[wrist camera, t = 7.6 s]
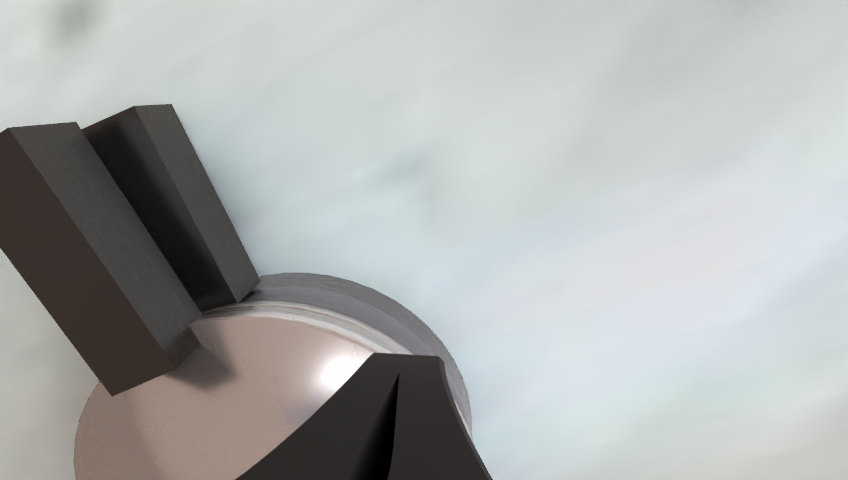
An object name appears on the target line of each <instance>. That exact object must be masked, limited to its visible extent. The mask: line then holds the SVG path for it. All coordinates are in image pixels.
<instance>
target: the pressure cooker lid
mask: <svg viewBox="0 0 848 480" xmlns="http://www.w3.org/2000/svg"><path fill="white" fill-rule="evenodd" d="M0 248H1V249H2V251H3V252H4V253H5V255H6V256H7V257H8V259H9V260H10V261H11V263H12V264H13V265H14V267H15V268H16V269H17V271H18V272H19V273H20V275H21V276H22V277H23V279H24V280H25V281H26V283H27V284H28V285H29V287H30V288H31V289H32V291H33V292H34V293H35V295H36V296H37V297H38V299H39V300H40V301H41V303H42V304H43V305H44V307H45V308H46V309H47V311H48V312H49V313H50V315H51V316H52V317H53V319H54V320H55V321H56V323H57V324H58V325H59V327H60V328H61V329H62V331H63V332H64V333H65V335H66V336H67V337H68V339H69V340H70V341H71V343H72V344H73V345H74V347H75V348H76V349H77V351H78V352H79V353H80V355H81V356H82V357H83V359H84V360H85V362H86V363H87V364H88V366H89V367H90V368H91V370H92V371H93V372H94V374H95V375H96V376H97V378H98V379H99V380H100V381H99V383H98V385H97V386H96V388H95V389H94V391H93V392H92V394H91V395H90V397H89V399H88V400H87V403H86V405H85V408H84V410H83V412H82V415H81V417H80V420H79V424H78V429H77V433H76V438H75V448H74V467H75V477H76V480H235V479H236V478H238V477H239V476H240V475H242V474H243V473H245V472H246V471H247V470H248V469H250V468H251V467H252V466H254V465H255V464H256V463H257V462H259V461H260V460H261V459H262V458H264V457H265V456H266V455H267V454H269V453H270V452H271V451H272V450H273V449H274V448H276V447H277V446H278V445H279V444H280V443H281V442H282V441H284V440H285V439H286V438H287V437H288V436H289V435H290V434H292V433H293V432H294V431H295V430H296V429H297V428H299V427H300V426H301V425H302V424H303V423H304V422H305V421H306V420H307V419H309V418H310V417H311V416H312V415H313V414H314V413H315V412H316V411H317V410H318V409H319V408H320V407H321V406H322V405H323V404H324V403H325V402H326V401H327V400H328V399H329V398H330V397H331V396H332V395H333V394H334V393H335V392H336V391H337V390H338V389H339V388H340V387H341V386H342V385H343V384H344V383H345V382H346V381H347V380H348V379H349V378H350V377H351V376H352V375H353V373H354V372H355V371H356V370H357V369H358V368H359V367H360V366H361V365H362V364H363V363H364V362H365V360H366V359H367V358H368V357H369V356H371V355H372V354H373V353H374V352H375V353H392V354H402V353H401V352H400V351H398V350H397V349H396V348H394V347H393V346H391V345H390V344H388V343H386V342H385V341H383V340H381V339H379V338H377V337H376V336H374V335H372V334H370V333H368V332H367V331H365V330H362V329H360V328H357V327H355V326H353V325H350V324H348V323H345V322H343V321H341V320H338V319H335V318H331V317H328V316H324V315H321V314H317V313H314V312H310V311H304V310H298V309H292V308H286V307H275V306H242V307H230V308H222V309H218V310H213V311H209V312H204V313H201V312H200V310H199V309H198V307H197V306H196V304H195V303H194V301H193V300H192V298H191V296H190V295H189V293H188V292H187V290H186V289H185V287H184V286H183V284H182V283H181V281H180V280H179V278H178V277H177V275H176V274H175V272H174V271H173V269H172V268H171V266H170V264H169V263H168V261H167V260H166V258H165V257H164V255H163V254H162V252H161V251H160V249H159V248H158V246H157V245H156V243H155V242H154V240H153V239H152V237H151V236H150V234H149V232H148V231H147V229H146V228H145V226H144V225H143V223H142V222H141V220H140V219H139V217H138V216H137V214H136V213H135V211H134V210H133V208H132V207H131V205H130V204H129V202H128V200H127V199H126V197H125V196H124V194H123V193H122V191H121V190H120V188H119V187H118V185H117V184H116V182H115V181H114V179H113V178H112V176H111V175H110V173H109V172H108V170H107V168H106V167H105V165H104V164H103V162H102V161H101V159H100V158H99V156H98V155H97V153H96V152H95V150H94V149H93V147H92V146H91V144H90V143H89V141H88V140H87V138H86V137H85V135H84V133H83V132H82V130H81V129H80V127H79V126H78V124H77V123H76V122H70V123H58V124H47V125H35V126H23V127H12V128H7V129H6V130H4V131H2V132H1V133H0ZM462 421H463V420H462ZM463 423H464V421H463ZM464 425H465V423H464ZM465 427H466V425H465ZM466 430H467V428H466ZM467 432H468V430H467ZM468 434H469V432H468ZM469 436H470V434H469ZM470 438H471V437H470ZM471 440H472V439H471ZM472 442H473V441H472ZM473 444H474V443H473Z"/></svg>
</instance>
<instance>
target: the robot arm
mask: <svg viewBox="0 0 848 480" xmlns="http://www.w3.org/2000/svg"><path fill="white" fill-rule="evenodd" d="M235 480H493V479H492V478H491V476H490V474H489V473H488V471H487V469H486V467H485V465H484V463H483V462H482V460H481V458H480V456H479V454H478V452H477V450H476V448H475V446H474V444H473V442H472V440H471V438H470V436H469V434H468V432H467V430H466V427H465V425H464V423H463V421H462V418H461V416H460V414H459V412H458V409H457V407H456V404H455V402H454V399H453V396H452V393H451V390H450V387H449V384H448V380H447V377H446V372H445V362H444V361H443V360H442V359H441V358H440V357H439V356H427V355H410V354H392V353H375V352H374V353H373V354H372V355H371V356H369V357H368V358H367V359H366V360H365V362H364V363H363V364H362V365H361V366H360V367H359V368H358V369H357V370H356V371H355V372H354V373H353V375H352V376H351V377H350V378H349V379H348V380H347V381H346V382H345V383H344V384H343V385H342V386H341V387H340V388H339V389H338V390H337V391H336V392H335V393H334V394H333V395H332V396H331V397H330V398H329V399H328V400H327V401H326V402H325V403H324V404H323V405H322V406H321V407H320V408H319V409H318V410H317V411H316V412H315V413H314V414H313V415H312V416H311V417H310V418H309V419H307V420H306V421H305V422H304V423H303V424H302V425H301V426H300V427H299V428H297V429H296V430H295V431H294V432H293V433H292V434H290V435H289V436H288V437H287V438H286V439H285V440H284V441H282V442H281V443H280V444H279V445H278V446H277V447H276V448H274V449H273V450H272V451H271V452H270V453H269V454H267V455H266V456H265V457H264V458H262V459H261V460H260V461H259V462H257V463H256V464H255V465H254V466H252V467H251V468H250V469H248V470H247V471H246V472H245V473H243V474H242V475H240V476H239V477H238V478H236V479H235Z"/></svg>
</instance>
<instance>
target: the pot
mask: <svg viewBox="0 0 848 480" xmlns="http://www.w3.org/2000/svg"><path fill="white" fill-rule="evenodd" d="M81 130H82V132H83V133H84V135H85V137H86V138H87V140H88V141H89V143H90V144H91V146H92V147H93V149H94V150H95V152H96V153H97V155H98V156H99V158H100V159H101V161H102V162H103V164H104V165H105V167H106V168H107V170H108V172H109V173H110V175H111V176H112V178H113V179H114V181H115V182H116V184H117V185H118V187H119V188H120V190H121V191H122V193H123V194H124V196H125V197H126V199H127V200H128V202H129V204H130V205H131V207H132V208H133V210H134V211H135V213H136V214H137V216H138V217H139V219H140V220H141V222H142V223H143V225H144V226H145V228H146V229H147V231H148V232H149V234H150V236H151V237H152V239H153V240H154V242H155V243H156V245H157V246H158V248H159V249H160V251H161V252H162V254H163V255H164V257H165V258H166V260H167V261H168V263H169V264H170V266H171V268H172V269H173V271H174V272H175V274H176V275H177V277H178V278H179V280H180V281H181V283H182V284H183V286H184V287H185V289H186V290H187V292H188V293H189V295H190V296H191V298H192V300H193V301H194V303H195V304H196V306H197V307H198V309H199V310H200V312H201V313H204V312H209V311H213V310H218V309H222V308H230V307H242V306H275V307H286V308H292V309H298V310H304V311H310V312H314V313H317V314H321V315H324V316H328V317H331V318H335V319H338V320H341V321H343V322H345V323H348V324H350V325H353V326H355V327H357V328H360V329H362V330H365V331H367V332H368V333H370V334H372V335H374V336H376V337H377V338H379V339H381V340H383V341H385V342H386V343H388V344H390V345H391V346H393V347H394V348H396V349H397V350H398V351H400V352H401V353H402V354H410V355H427V356H439V357H440V358H441V359H442V360H443V361H444V362H445V372H446V377H447V380H448V384H449V387H450V390H451V393H452V396H453V399H454V402H455V404H456V407H457V409H458V412H459V414H460V416H461V418H462V420H463V421H464V423H465V425H466V428H467V430H468V432H469V434H470V437H471V439H472V422H471V409H470V403H469V397H468V393H467V390H466V387H465V384H464V381H463V378H462V375H461V373H460V371H459V369H458V367H457V365H456V363H455V361H454V359H453V358H452V356H451V355H450V353H449V352H448V350H447V349H446V347H445V346H444V344H443V343H442V342H441V341H440V339H439V338H438V337H437V336H436V335H435V334H434V333H433V331H432V330H431V329H430V328H429V327H428V326H427V325H426V324H425V323H424V322H422V321H421V320H420V319H419V318H418V317H417V316H416V315H414V314H413V313H412V312H411V311H409V310H408V309H406V308H405V307H403V306H402V305H400V304H399V303H397V302H396V301H395V300H393V299H391V298H389V297H387V296H385V295H383V294H381V293H379V292H378V291H376V290H374V289H371V288H369V287H366V286H363V285H361V284H358V283H355V282H353V281H349V280H345V279H341V278H337V277H332V276H328V275H319V274H310V273H282V274H275V275H268V276H262V277H258V275H257V273H256V271H255V269H254V267H253V265H252V263H251V261H250V259H249V257H248V255H247V253H246V251H245V249H244V247H243V245H242V243H241V241H240V239H239V237H238V235H237V233H236V231H235V229H234V227H233V225H232V223H231V221H230V219H229V217H228V215H227V213H226V211H225V209H224V207H223V205H222V203H221V201H220V199H219V197H218V195H217V193H216V191H215V189H214V187H213V185H212V183H211V181H210V180H209V178H208V176H207V174H206V172H205V170H204V168H203V166H202V164H201V162H200V160H199V158H198V156H197V154H196V152H195V150H194V148H193V146H192V144H191V142H190V140H189V138H188V136H187V134H186V132H185V130H184V128H183V126H182V124H181V122H180V120H179V118H178V116H177V114H176V112H175V110H174V108H173V106H172V104H165V105H146V106H133V107H131V108H129V109H126V110H124V111H122V112H120V113H117V114H115V115H113V116H111V117H108V118H106V119H104V120H102V121H99V122H97V123H95V124H93V125H90V126H88V127H86V128H84V129H81ZM472 441H473V440H472Z"/></svg>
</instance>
